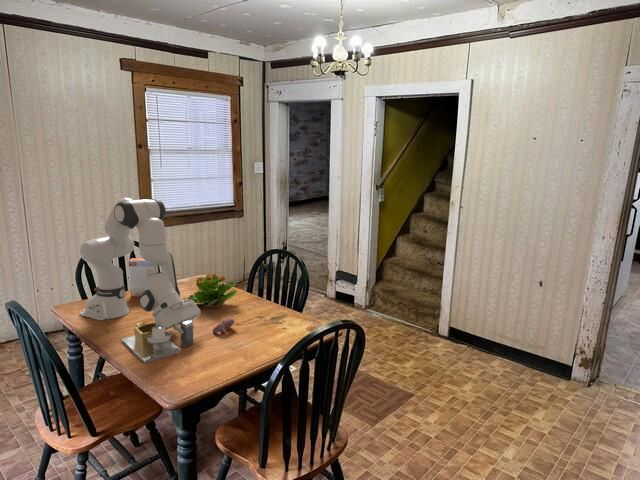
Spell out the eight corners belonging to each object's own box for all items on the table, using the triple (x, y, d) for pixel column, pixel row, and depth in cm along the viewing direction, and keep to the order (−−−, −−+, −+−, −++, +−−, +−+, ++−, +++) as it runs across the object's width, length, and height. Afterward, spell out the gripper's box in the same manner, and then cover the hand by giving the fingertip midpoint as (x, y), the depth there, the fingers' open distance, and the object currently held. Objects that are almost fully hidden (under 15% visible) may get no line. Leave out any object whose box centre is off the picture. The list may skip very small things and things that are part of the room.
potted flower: (206, 294, 244) (205, 264, 240) (244, 299, 237) (244, 268, 234) (181, 309, 220) (179, 277, 216) (223, 316, 214) (222, 282, 210)
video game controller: (217, 338, 194) (222, 326, 191) (210, 331, 195) (215, 320, 192) (232, 330, 202) (237, 319, 199) (226, 324, 203) (231, 313, 200)
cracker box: (159, 293, 242) (158, 257, 237) (156, 297, 236) (154, 260, 232) (134, 293, 241) (132, 257, 237) (130, 297, 235) (127, 260, 231)
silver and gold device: (121, 341, 184) (119, 315, 182) (156, 331, 194) (154, 307, 192) (145, 365, 165) (143, 336, 163) (182, 353, 175) (181, 326, 173)
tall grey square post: (181, 344, 183) (180, 322, 181) (187, 341, 186) (186, 319, 184) (186, 346, 182) (185, 324, 179) (193, 343, 185) (192, 321, 182)
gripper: (187, 301, 196) (203, 326, 193) (148, 315, 179) (164, 343, 176) (194, 294, 192) (209, 319, 189) (154, 307, 175) (171, 336, 172)
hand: (187, 331), depth 182 cm, fingers open, 4 cm apart
